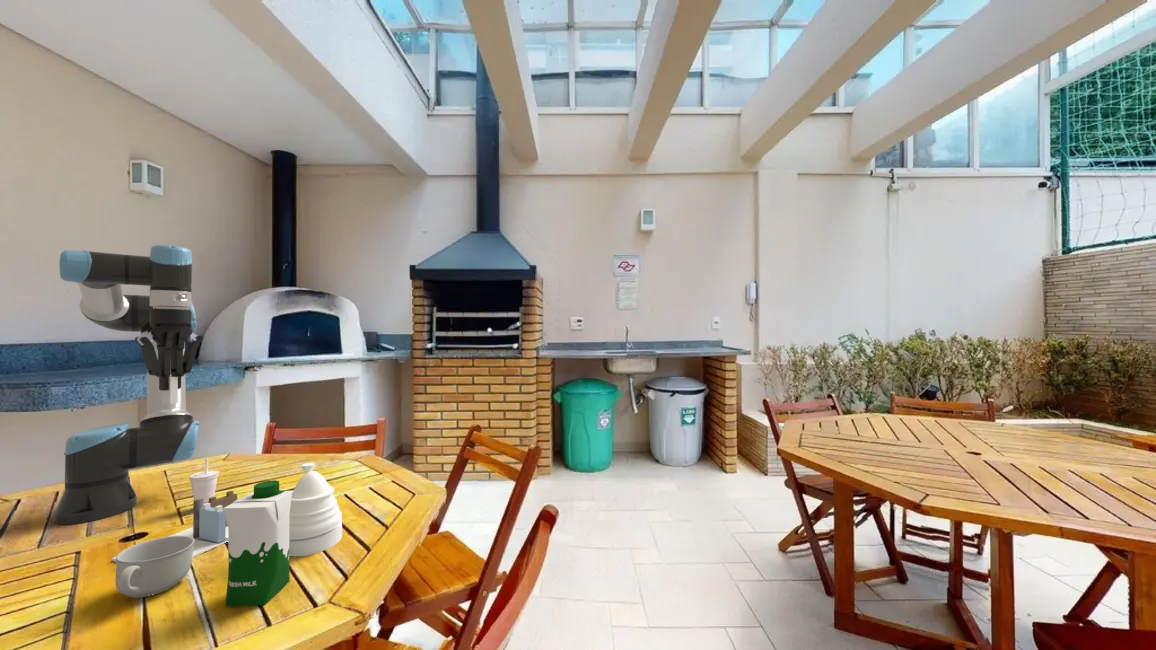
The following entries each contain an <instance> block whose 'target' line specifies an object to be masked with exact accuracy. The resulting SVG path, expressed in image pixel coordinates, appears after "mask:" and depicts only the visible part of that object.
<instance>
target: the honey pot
mask: <svg viewBox="0 0 1156 650" xmlns="http://www.w3.org/2000/svg"><path fill="white" fill-rule="evenodd" d="M314 468H315V462H305V463H303V464H302V465H301V469H302V470H303V472H305V474H303V475H302V477H301V478H300V479H299V480H298V482H297V483H296V485H295V486H294V489H293V490H291V491H292V498H291V505H290V513H289V556H295V557H294V558H297V557H296V556H301V557H307V556H311V555H314V554H319V553H321V552H323V551H326V550H328V549H330V548H332V547H334V546H335V545H336V544H338V543H339V542H340V541H341V540H342V537H343V514H342V511H341V510H340V507H339V505H338V500H337V499H336V498H335V495H334V492H335V488H334V487H333V486H332V485H330V484H329V483H328V481H327V480H326V479H325V477H324V476H323V475H322V474H321V473H320V472H317V471H315V470H313V469H314Z"/></svg>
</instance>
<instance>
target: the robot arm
mask: <svg viewBox="0 0 1156 650" xmlns="http://www.w3.org/2000/svg"><path fill="white" fill-rule="evenodd" d="M149 254H150V255H149V256H145V255H144V256H143V255H134V254H133V255H131V254H120V253H110V252H102V251H100V252H99V251H88V250H74V249H73V250H72V249H71V250H70V249H66V250H63V251H62V252H60V255H59V265H58V266H59V276H60V279H61V280H62V281H64V282H71V283H77V285H78V286H79V287H78V288H79V290H80V294H81V297H82V298H81V299H80V301H79V310H80V311H81V314H82V315H83V316H84V317H85V318H86V319H87V320H89V321H91V322H92V323H94V324H96V325H98V326H101V327H103V328H105V329H110V330H113V331H119V332H137V333H138V332H139V333H140V336H136V337H135V339H134V340H135V342H136V344H138V346H140V350H141V353H142V357H143V359H144V362H145V366H146V370H147V381H146V383H147V385H146V389H147V390H146V391H147V393H146V396H147V398H146V399H147V400H146V401H147V403H146V413H147V414H146V416H144V417H143V418H141V420H139V427H131V428H130V425H129V424H128V423H118V424H115V423H114V424H110V425H104V426H101V427H94V428H90V429H87V430H82V431H79V432H77V433H74V434H72V435H70V436H69V437H68V438H67V439H66V441H65V449H64V452H63V455H64V457H65V459H64V490H63V493H62V495H61V498H60V499H59V501H58V504H57V506H56V508H55V510H54V513H53V523H55V524H58V525H72V524H79V523H80V524H81V523H85V522H86V523H87V522H91V521H97V520H101V519H104V518H109V517H112V516H115V515H118V514H121V513H124V512H126V511H129V510H131V509H133V508H134V507H135V506H137V504H138V501H137V500H138V498H137V494H136V491H135V489H134V487H133V486H132V483H131V482H130V480H129V470H133V469H138V468H139V469H140V468H145V467H151V466H157V465H162V464H164V465H165V464H170V463H172V464H174V463H176V462H181V461H184V460H185V461H186V460H188V459H191V458H192V457H193V456H194V454H195V451H196V447H197V442H198V436H199V429H200V428H199V427H200V421H199V420H196V419H195V420H194V419H193V417H194V416H193V414H192V413H190V412H189V411H187V398H186V397H187V395H186V394H187V393H186V391H187V390H186V374H190V373H192V372H191V371H192V369H193V365H194V362H195V360H196V359H195V358H196V355H197V350H198V347H199V345H200V343H201V342H202V341H203V340H204V337H203V336H202V335H198V334H195V333H194V332H196V331H197V315H196V309H195V306H194V304H193V301H192V292H193V291H192V284H193V283H192V282H193V281H192V280H193V279H192V278H193V261H194V260H193V254H192V250H191V249H189V248H187V247H185V246H184V247H183V246H177V245H166V244H160V245H159V244H155V245H153V246H151V247H150V253H149ZM122 285H129V286H130V285H132V286H147V287H149V295H144V294H143V295H141V294H140V295H137V294H124V293H123V286H122ZM186 341H187V343H186ZM132 507H133V508H132ZM130 508H131V509H130Z"/></svg>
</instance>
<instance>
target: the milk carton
mask: <svg viewBox="0 0 1156 650" xmlns="http://www.w3.org/2000/svg"><path fill="white" fill-rule="evenodd" d="M292 491H293V490H281V489H280V481H279V480H275V479H273V480H266V481H261V482H259V483H256V484H254V486H253V492H251V493H248V494H247V495H245V496H242V497H240V498H239V499H237V500H236V501H234V502H233V503H232V504H230V505H228V506H226V507H225V508H223V511H224V514H225V518H226V521H227V525H228V543H227V544H228V546H227V547H228V550H227V551H228V553H227V554H228V559H227V560H228V561H227V562H228V565H227V567H228V568H227V571H228V573H227V584H226V595H225V605H224V607H225V606H230V607H247V606H249V607H251V606H253V607H254V606H265V605H267V604H268V603H269V602H270V601H271V600H272V599H273V598H274V597H275V596H277V594H278V593H280V591H282V590H283V589H284V588H285V587H286V586H287V585H288V584H289V583H290V581H291V580H290V557H289V513H290V505H291V498H292ZM288 582H289V583H288ZM287 583H288V584H287ZM286 584H287V585H286ZM285 585H286V586H285ZM284 586H285V587H284ZM283 587H284V588H283ZM282 588H283V589H282ZM281 589H282V590H281Z"/></svg>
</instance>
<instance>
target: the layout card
mask: <svg viewBox="0 0 1156 650" xmlns="http://www.w3.org/2000/svg"><path fill="white" fill-rule="evenodd" d="M170 536H189V537H192V538H193V526H192V527H188V528H187V529H184V530H181V531H179V532H177V533H174V534H171V535H170ZM194 540H195V542H194V544H193V555H192V559H194V558H193V557H195V556H197V555H199V554H201V553H203V552H205V551H208V550H210V549H212V548H214V547H216V546H219V545H221V544H224V543H226V542H228V525H226V536H225V540H224V541H222V542H219V543H217V542H213V541H209V540H205V539H201V538H194ZM226 544H227V543H226ZM224 545H225V544H224ZM221 546H222V545H221ZM219 547H220V546H219ZM210 551H211V550H210ZM208 552H209V551H208ZM201 555H202V554H201ZM199 556H200V555H199ZM197 557H198V556H197ZM195 558H196V557H195ZM111 561H112V562H116V563H117V561H116V556H114V557H112V558H111Z"/></svg>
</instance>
